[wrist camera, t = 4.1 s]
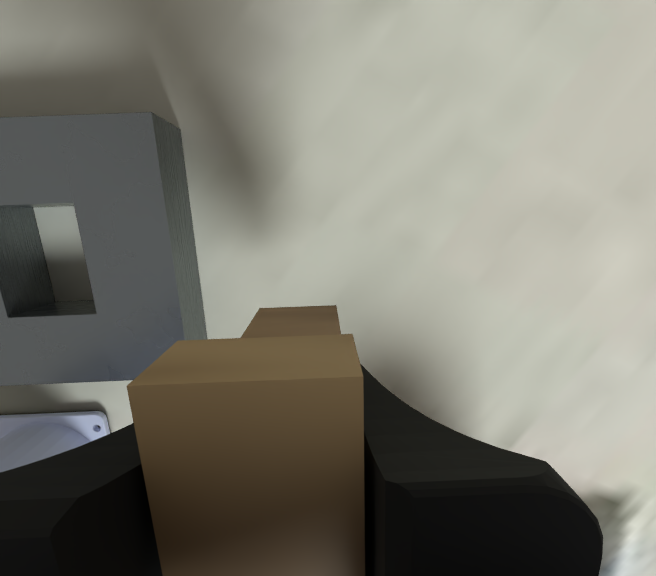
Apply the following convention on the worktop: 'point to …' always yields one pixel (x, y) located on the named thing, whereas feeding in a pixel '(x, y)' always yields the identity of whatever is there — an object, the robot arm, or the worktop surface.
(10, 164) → the flat gray square plate
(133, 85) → the worktop surface
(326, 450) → the tall cardboard box
